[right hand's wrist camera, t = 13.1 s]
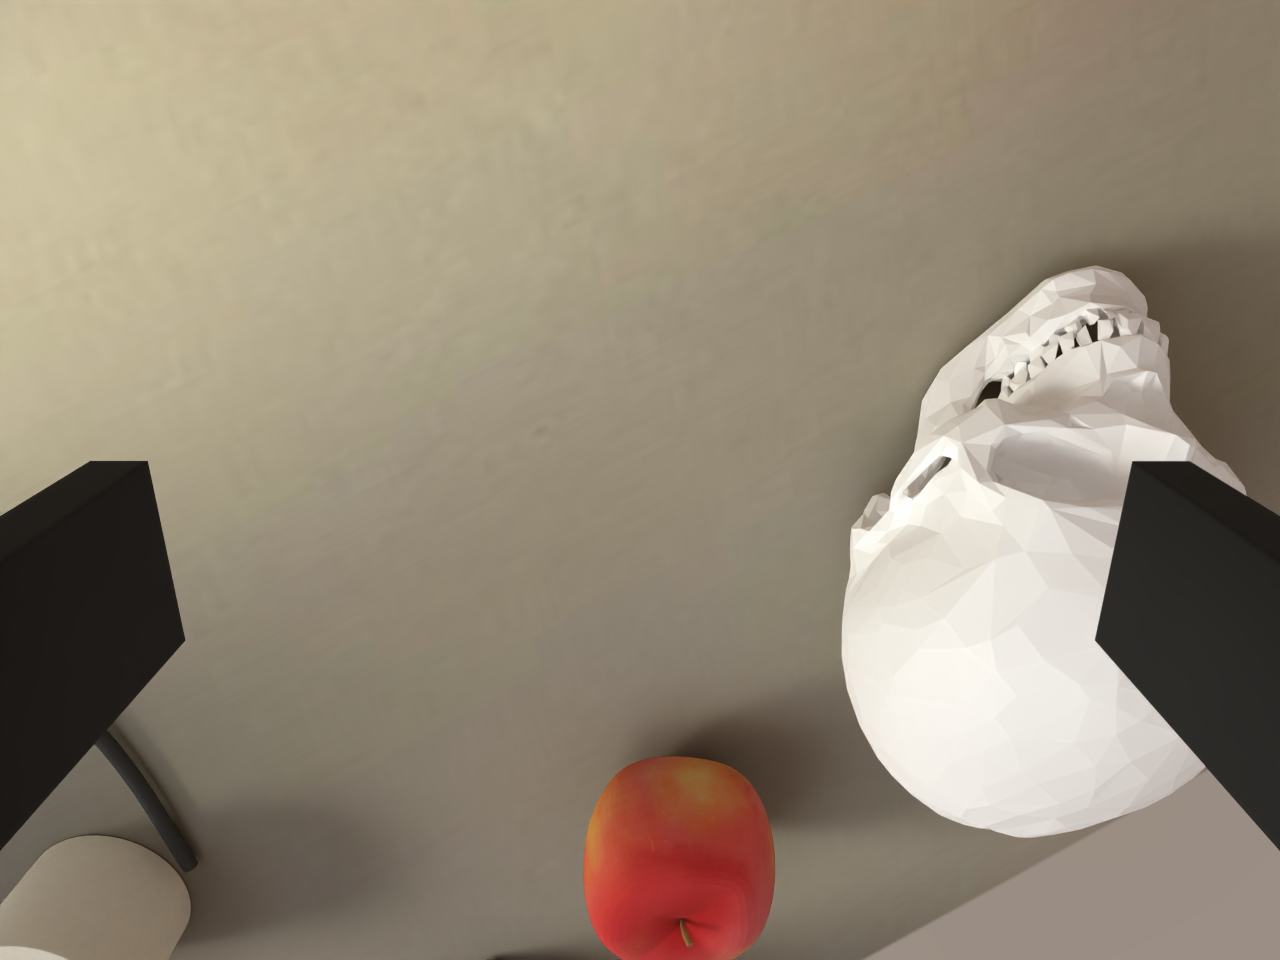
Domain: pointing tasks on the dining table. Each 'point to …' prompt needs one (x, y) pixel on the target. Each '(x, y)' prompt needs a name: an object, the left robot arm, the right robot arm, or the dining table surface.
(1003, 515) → the skull
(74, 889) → the cylinder
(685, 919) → the apple
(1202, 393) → the dining table surface
